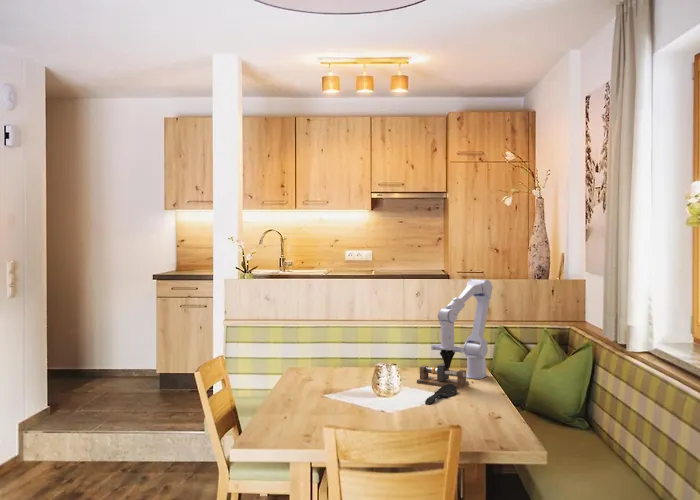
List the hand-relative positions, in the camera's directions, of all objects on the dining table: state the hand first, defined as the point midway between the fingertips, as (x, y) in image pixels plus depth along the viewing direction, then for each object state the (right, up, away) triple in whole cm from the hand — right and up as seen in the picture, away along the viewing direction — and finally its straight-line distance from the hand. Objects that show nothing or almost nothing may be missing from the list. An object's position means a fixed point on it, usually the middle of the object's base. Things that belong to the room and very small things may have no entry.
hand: (447, 367), depth 290 cm
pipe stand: (-2, -7, +2) cm, 7 cm away
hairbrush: (-6, -9, -22) cm, 24 cm away
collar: (-2, -5, +1) cm, 6 cm away
